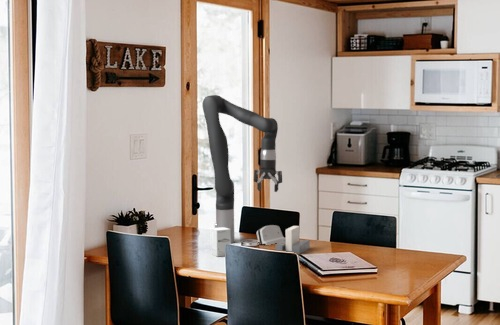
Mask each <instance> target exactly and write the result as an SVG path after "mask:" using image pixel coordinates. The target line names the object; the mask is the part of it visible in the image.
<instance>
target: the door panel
mask: <svg viewBox="0 0 500 325" xmlns="http://www.w3.org/2000/svg"><path fill="white" fill-rule="evenodd" d="M284 232H285V239H286V251H292V245H294V244H296V243H298V242H300V241H301V240H300V237H301V236H300V225H292V226H290V227H288V228H285V231H284Z"/></svg>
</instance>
